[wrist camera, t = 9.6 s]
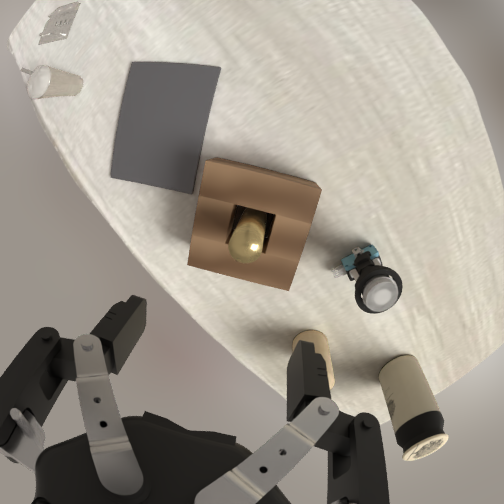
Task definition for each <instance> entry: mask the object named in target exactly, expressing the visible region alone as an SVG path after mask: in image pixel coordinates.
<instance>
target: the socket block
mask: <svg viewBox="0 0 504 504" xmlns="http://www.w3.org/2000/svg"><path fill="white" fill-rule="evenodd" d="M321 191H322V189H321V188H320V187H319V186H318V185H317V184H316V183H315V182H312V181H309V180H305V179H302V178H298V177H295V176H291V175H287V174H284V173H280V172H276V171H272V170H268V169H264V168H260V167H256V166H252V165H248V164H244V163H239V162H235V161H230V160H226V159H221V158H217V157H216V158H213V159H209V160H206V162H205V167H204V171H203V176H202V181H201V187H200V192H199V197H198V203H197V208H196V214H195V219H194V225H193V231H192V238H191V244H190V250H189V257H188V264H187V265H189V266H193V267H197V268H200V269H204V270H208V271H212V272H215V273H219V274H223V275H227V276H231V277H235V278H239V279H242V280H246V281H250V282H254V283H258V284H262V285H266V286H270V287H274V288H278V289H283V290H287V291H289V289H290V286H291V283H292V281H293V278H294V275H295V272H296V269H297V266H298V263H299V260H300V257H301V254H302V251H303V248H304V245H305V242H306V239H307V236H308V233H309V230H310V227H311V223H312V220H313V217H314V214H315V211H316V208H317V204H318V201H319V198H320V194H321ZM237 205H240V206H244V207H248V208H252V209H256V210H260V211H264V212H268V213H272V214H274V215H273V219H272V223H271V226H270V230H269V234H268V237H267V238H265V237H264V241H263V248H262V253H261V255H260V257H259V258H258V259H257V260H256V261H254V262H252V263H240V262H238V261H236V260H235V259H234V258H233V257H232V256H231V255H230V253H229V249H228V245H229V241H230V239H231V237H232V235H233V233H234V231H235V230H234V229H232V227H233V223H234V218H235V214H236V210H237Z"/></svg>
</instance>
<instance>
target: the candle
mask: <svg viewBox="0 0 504 504" xmlns="http://www.w3.org/2000/svg"><path fill="white" fill-rule="evenodd" d="M299 340H303V341H308V342H313V343H314V347H315V353H319V354H321V355H322V356H323V358H324V360H325V361H326V367H327V373H328V380H329V387H330V390H331V389H332V387H333V386H334V383H335V379H334V373H333V367H332V362H331V356H330V351H329V346H328V341H327V338H326V336H325V335H324V334H323V333H321V332H319V331H315V330H308V331H304V332H302V333H300V334H298V335H297V336H296V337H295V338H294V340H293V344H292V353H293V351H294V349H295V347H296V345H297V343H298V341H299Z"/></svg>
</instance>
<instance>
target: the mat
mask: <svg viewBox="0 0 504 504" xmlns="http://www.w3.org/2000/svg"><path fill="white" fill-rule="evenodd" d="M220 70H221V67H214V66H205V65H195V64H183V63H167V62H132V64H131V68H130V72H129V76H128V80H127V84H126V88H125V92H124V96H123V101H122V106H121V111H120V116H119V121H118V127H117V132H116V139H115V145H114V152H113V160H112V168H111V178H116V179H121V180H126V181H131V182H136V183H141V184H146V185H151V186H156V187H161V188H165V189H170V190H175V191H179V192H184V193H188V194H193V189H194V184H195V178H196V173H197V168H198V163H199V158H200V153H201V149H202V144H203V139H204V135H205V130H206V126H207V122H208V117H209V113H210V109H211V105H212V101H213V97H214V93H215V89H216V85H217V81H218V78H219V74H220Z"/></svg>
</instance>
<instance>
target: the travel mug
mask: <svg viewBox="0 0 504 504" xmlns="http://www.w3.org/2000/svg"><path fill="white" fill-rule="evenodd" d="M379 381H380V384H381V387H382V390H383V394H384V397H385V400H386V404H387V407H388V411H389V414H390V418H391V421H392V425H393V428H394V432H395V436H396V440H397V444H398V445H399V446H401V447H402V448H403V453H404V454H403V456H402V458H403V460H406V461H411V460H416V459H420V458H422V457H425V456H427V455H429V454H431V453H433V452H435V451H436V450H438V449H439V448H441V447H442V446H443V445H444V444H445V443H446V442H447V440H448V435H447V434H445V433H444V431H443V425H444V419H443V417H442V414H441V412H440V410H439V407H438V405H437V402H436V400H435V398H434V395H433V393H432V390H431V388H430V386H429V384H428V381H427V379H426V377H425V375H424V373H423V371H422V369H421V366H420V364H419V362H418V360H417V359H416V358H415V357H414V356H410V355H405V356H401V357H398V358H395V359H393V360H392V361H390V362H389V363H387V364H386V365H385V366H384V367H383V368H382V370H381V371H380V374H379Z"/></svg>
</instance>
